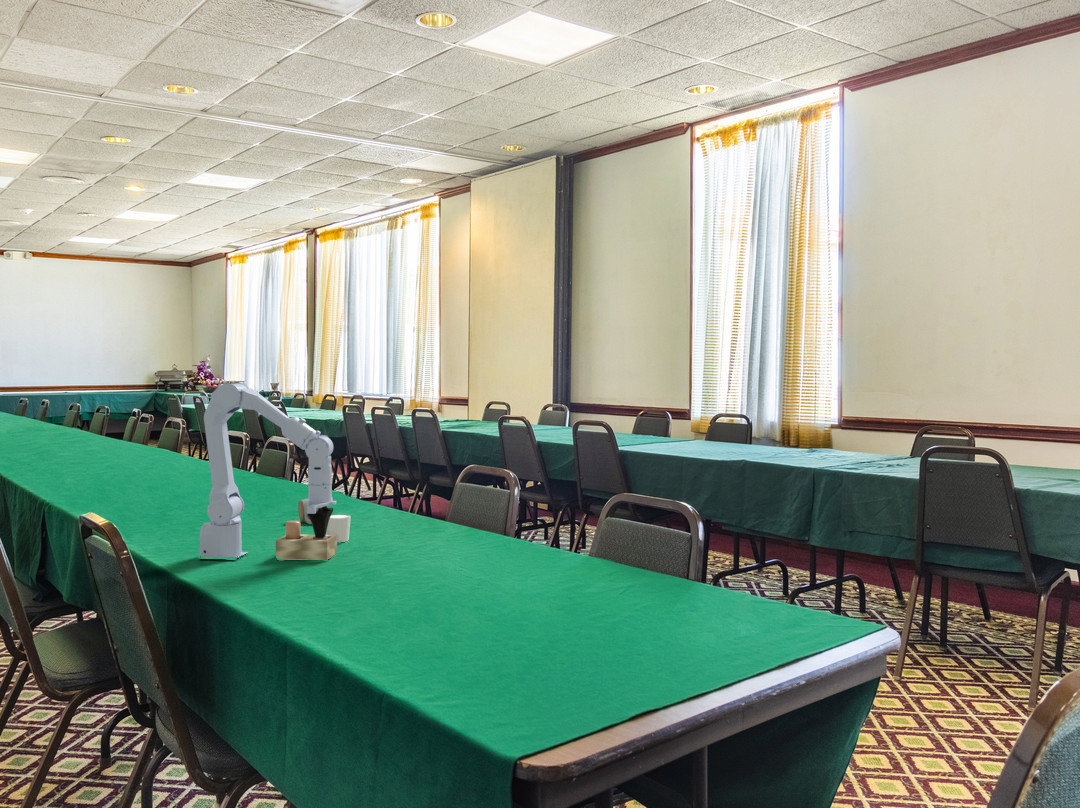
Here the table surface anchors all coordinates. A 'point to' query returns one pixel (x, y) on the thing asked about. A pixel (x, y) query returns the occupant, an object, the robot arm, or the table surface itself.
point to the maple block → (306, 548)
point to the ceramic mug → (304, 511)
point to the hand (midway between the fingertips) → (320, 537)
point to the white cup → (339, 527)
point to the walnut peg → (320, 538)
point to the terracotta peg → (293, 530)
